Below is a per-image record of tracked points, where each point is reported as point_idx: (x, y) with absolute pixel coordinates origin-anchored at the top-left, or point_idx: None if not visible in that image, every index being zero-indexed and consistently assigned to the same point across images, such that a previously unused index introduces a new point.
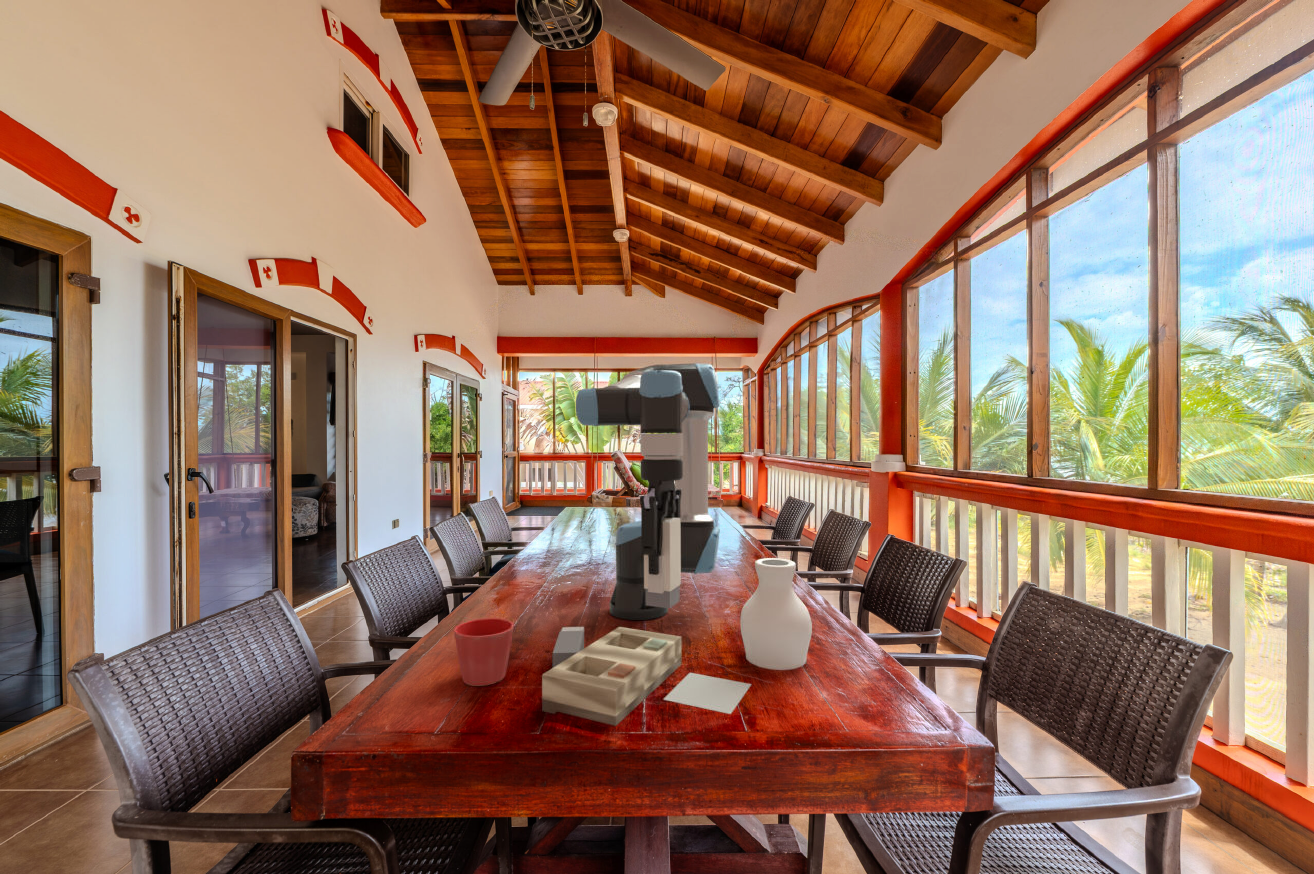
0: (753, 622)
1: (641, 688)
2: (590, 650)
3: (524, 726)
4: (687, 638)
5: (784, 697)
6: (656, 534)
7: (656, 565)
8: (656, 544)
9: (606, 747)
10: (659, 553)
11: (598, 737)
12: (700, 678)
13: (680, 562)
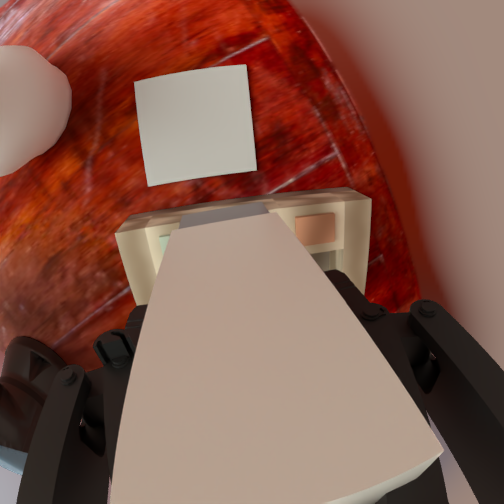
0: (33, 114)
1: (283, 199)
2: None
3: (375, 276)
4: (45, 269)
5: (143, 32)
6: (471, 370)
7: (352, 288)
8: (437, 332)
9: (380, 175)
10: (379, 308)
11: (368, 194)
12: (157, 159)
13: (162, 268)
